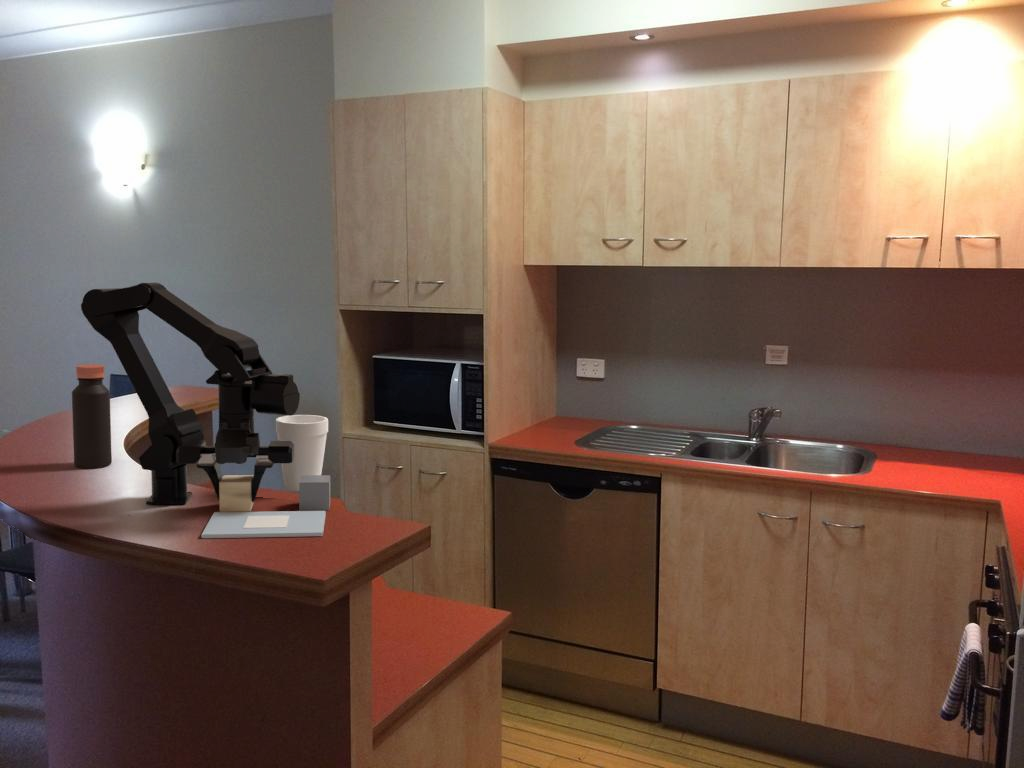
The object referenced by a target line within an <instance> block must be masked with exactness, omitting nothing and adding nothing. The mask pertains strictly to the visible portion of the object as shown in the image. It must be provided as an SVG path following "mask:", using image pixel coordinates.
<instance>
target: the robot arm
mask: <svg viewBox="0 0 1024 768" xmlns="http://www.w3.org/2000/svg"><path fill="white" fill-rule="evenodd" d="M80 309H81V312H82V314H83V316H84V318H85V319H86V320H87V322H88V323H89V325H90V326H91V327H92V328H93V330H94V332H95V331H96V332H97V333H98V334H99V335H100V336H102V337H103V338H104V339H106V341H108V342H109V343H110V344H111V347H112V348H113V351H114V352H115V354H116V356H117V358H118V359H119V361H120V363H121V366H122V367H123V370H124V371H125V373H126V375H127V377H128V379H129V381H130V384H132V387H133V390H135V392H136V394H137V396H138V398H139V401H140V402H141V404H142V406H143V409H144V410H145V412H146V415H147V417H148V428H147V429H148V437H149V441H150V443H151V445H150V446H149V447H148V448H147V449H146V450H145V451H144V452H142V454H140V456H139V457H138V459H139V460H138V461H139V463H140V466H141V468H142V470H143V471H144V470H146V471H151V495H150V496H149V497H148V498H147V499H146V502H145V503H146V505H185V504H187V503H188V501H189V500H190V498H191V497H192V496H193V492H192V491H188V474H187V467H188V466H187V465H188V464H191V465H193V464H194V465H195V464H196V463H197V464H196V468H197V469H202V470H203V471H204V472H205V473H206V474H207V476H208V478H209V479H210V483H212V486H213V490H214V492H215V494H216V497H217V499H218V502H219V503H220V499H219V482H220V481H221V479H222V478H223V476H222V469H221V468H222V467H221V465H226V464H236V465H243V464H245V463H246V462H247V460H248V458H256V462H255V464H254V465H253V466H254V467H253V468H254V469H253V475H254V478H253V486H252V502H254V503H255V500H256V498H257V495H258V491H259V488H260V485H261V481H262V479H263V476H264V474H265V471H266V470H267V469H272V468H273V467H274V465H275V464H281V463H292V461H293V458H294V444H293V443H292V442H291V441H278V440H271V441H270V442H269V444H268V446H266V445H264V446H261V444H260V434H259V432H255V411H256V413H258V414H262V415H265V414H266V415H274V416H275V415H277V416H292V415H296V412H297V411H298V408H299V404H300V398H301V395H300V392H299V389H298V385H297V383H296V382H294V375H293V374H286V373H285V374H273V372H272V370H271V369H270V367H269V365H268V364H267V361H265V360H264V357H262V355H261V353H260V350H259V345H258V343H257V342H256V341H255V339H254V338H252V337H250V336H248V335H246V334H244V333H241V332H239V331H237V330H234V329H230V328H227V327H224V326H222V325H220V324H217V323H215V322H214V321H213V320H212V319H210V318H208V317H207V316H205V315H204V314H202V313H201V312H200V311H198V310H196V309H195V308H194V307H192V306H191V305H189V304H188V303H186V302H185V301H184V300H182V299H181V298H180V297H178V296H177V295H175V294H174V293H173V292H171V291H169V290H168V289H167V288H166V286H165V285H163V284H162V283H160V282H141V283H138V284H136V285H132V286H128V287H122V288H93V289H91V290H90V289H89V290H88V291H87V292H86V293H85V294H84V296H83V298H82V302H81V304H80ZM144 310H147V311H149V312H151V313H152V314H153V315H155V316H156V317H158V318H159V319H160V320H162V321H163V322H165V323H166V324H168V325H169V326H170V327H172V328H174V329H175V330H176V331H178V332H179V333H180V334H182V335H183V336H185V337H187V338H188V339H189V340H191V341H192V342H193V343H194V344H196V346H198V347H199V348H200V351H201V352H202V354H203V356H204V358H206V360H207V361H209V363H210V364H211V365H213V367H215V369H216V370H214V373H213V374H212V375H211V376H209V377H208V378H207V379H206V380H205V384H207V385H217V386H218V390H217V391H218V429H217V433H216V436H215V442H214V445H212V446H210V445H207V444H206V443H207V442H206V441H205V435H204V432H203V430H204V429H205V427H204V425H202V424H201V423H200V421H199V419H198V417H197V413H196V411H195V410H194V409H193V408H188V409H185V410H184V409H183V408H182V407H180V406H179V404H177V402H176V401H175V399H174V397H173V396H172V394H171V393H172V392H171V391H170V389H169V387H168V385H167V384H166V381H165V379H164V377H163V376H162V374H161V372H160V370H159V368H158V366H157V364H156V362H155V361H154V359H153V356H152V355H151V353H150V351H149V348H148V346H147V345H146V343H145V341H144V339H143V338H142V335H141V333H140V329H139V327H140V325H139V324H140V315H139V312H140V311H144Z"/></svg>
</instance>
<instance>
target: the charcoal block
mask: <svg viewBox="0 0 1024 768" xmlns="http://www.w3.org/2000/svg"><path fill="white" fill-rule="evenodd" d="M298 493H299V496H298V498H299V499H298V501H299V503H298V506H299V507H298V508H299V510H298V511H330V508H331V507H330V506H331V475H327V474H326V475H323V474H321V475H301V478H300V482H299V492H298Z"/></svg>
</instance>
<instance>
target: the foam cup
mask: <svg viewBox="0 0 1024 768" xmlns="http://www.w3.org/2000/svg"><path fill="white" fill-rule="evenodd" d="M275 432H276V433H277V441H291V442H292V443H293V444H294V458H293V461H292V463H280V464H281V470H282V471H281V472H282V478H283V485H284V489H285V490H286V491H289V492H295V493H299V482H300V478H301V475H322V474H323V473H322V472H323V464H324V458H325V450H326V444H327V443H326V442H327V436H328V433H329V419H328V417H326V416H324V415H323V416H322V415H314V414H294V415H292V416H288V415H282V416H279V417H277V418H276V419H275Z"/></svg>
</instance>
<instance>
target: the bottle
mask: <svg viewBox="0 0 1024 768" xmlns="http://www.w3.org/2000/svg"><path fill="white" fill-rule="evenodd" d="M104 367H105V366H104V365H103V364H80V365H77V366H76V380H77V381H78V384H77V386H76V387H75V388H74V389H73V390H72V391H71V408H72V412H71V413H72V434H73V435H72V439H73V443H72V444H73V465H74V466H75V467H76V468H79V469H85V470H86V469H89V470H90V469H101V468H105V467H108V466H111V465H112V461H113V460H112V427H111V423H112V422H111V395H110V394H111V393H110V390H109V388H108V387H106V386H105V385H104V383H103V380H104V377H105V368H104Z"/></svg>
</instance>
